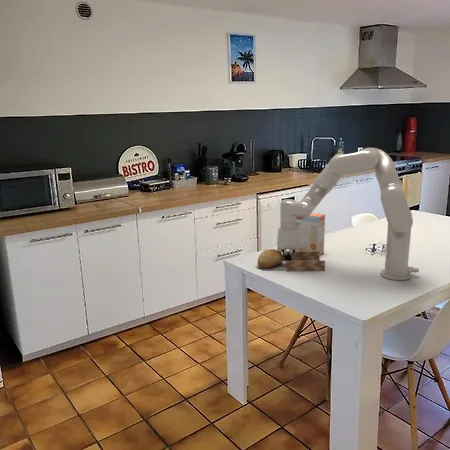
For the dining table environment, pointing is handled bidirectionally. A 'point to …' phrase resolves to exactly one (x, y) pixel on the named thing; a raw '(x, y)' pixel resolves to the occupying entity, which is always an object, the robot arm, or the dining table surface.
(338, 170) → the robot arm
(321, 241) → the cracker box
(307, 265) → the channel
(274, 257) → the bread roll
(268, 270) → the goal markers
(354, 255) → the dining table surface
